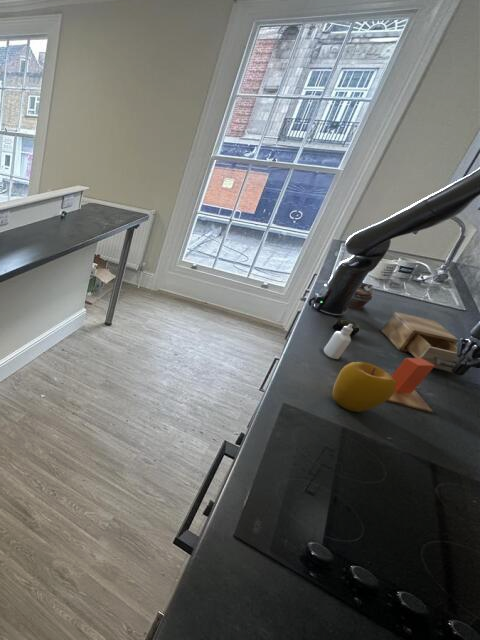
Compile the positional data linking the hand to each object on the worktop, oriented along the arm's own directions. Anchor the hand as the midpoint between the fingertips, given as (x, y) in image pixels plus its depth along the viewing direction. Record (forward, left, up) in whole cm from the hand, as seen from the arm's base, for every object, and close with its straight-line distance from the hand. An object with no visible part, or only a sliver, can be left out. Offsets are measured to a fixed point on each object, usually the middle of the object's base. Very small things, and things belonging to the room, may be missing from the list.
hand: (456, 373), depth 122 cm
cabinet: (0, +25, -4) cm, 25 cm away
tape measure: (-21, +21, -4) cm, 30 cm away
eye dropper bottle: (-31, -1, -4) cm, 31 cm away
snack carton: (-18, -14, -3) cm, 23 cm away
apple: (-35, -31, -4) cm, 47 cm away
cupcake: (-9, +55, -4) cm, 56 cm away
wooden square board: (-19, -15, -4) cm, 24 cm away
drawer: (0, +12, -3) cm, 13 cm away
